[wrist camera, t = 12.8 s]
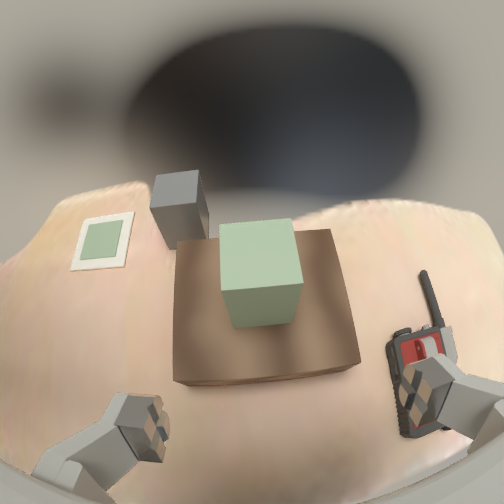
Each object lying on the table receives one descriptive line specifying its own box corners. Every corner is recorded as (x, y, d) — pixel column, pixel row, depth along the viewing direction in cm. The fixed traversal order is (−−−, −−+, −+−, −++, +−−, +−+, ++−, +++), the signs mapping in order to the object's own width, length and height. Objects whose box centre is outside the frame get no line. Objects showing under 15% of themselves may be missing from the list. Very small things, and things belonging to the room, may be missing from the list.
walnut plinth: (187, 385, 25) (173, 380, 21) (187, 265, 33) (177, 241, 28) (345, 370, 26) (361, 362, 21) (322, 253, 33) (330, 228, 29)
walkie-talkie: (458, 422, 21) (423, 274, 31) (481, 419, 17) (440, 256, 27) (398, 449, 20) (366, 283, 31) (417, 452, 17) (379, 265, 27)
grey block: (169, 249, 34) (149, 207, 27) (172, 218, 37) (156, 175, 30) (208, 246, 34) (196, 202, 27) (209, 214, 37) (198, 169, 30)
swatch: (71, 271, 33) (69, 269, 32) (85, 220, 38) (83, 218, 37) (124, 267, 33) (123, 265, 32) (135, 212, 38) (133, 210, 37)
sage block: (233, 328, 24) (220, 290, 17) (230, 276, 26) (219, 224, 19) (291, 322, 24) (303, 282, 17) (283, 272, 26) (291, 218, 19)
